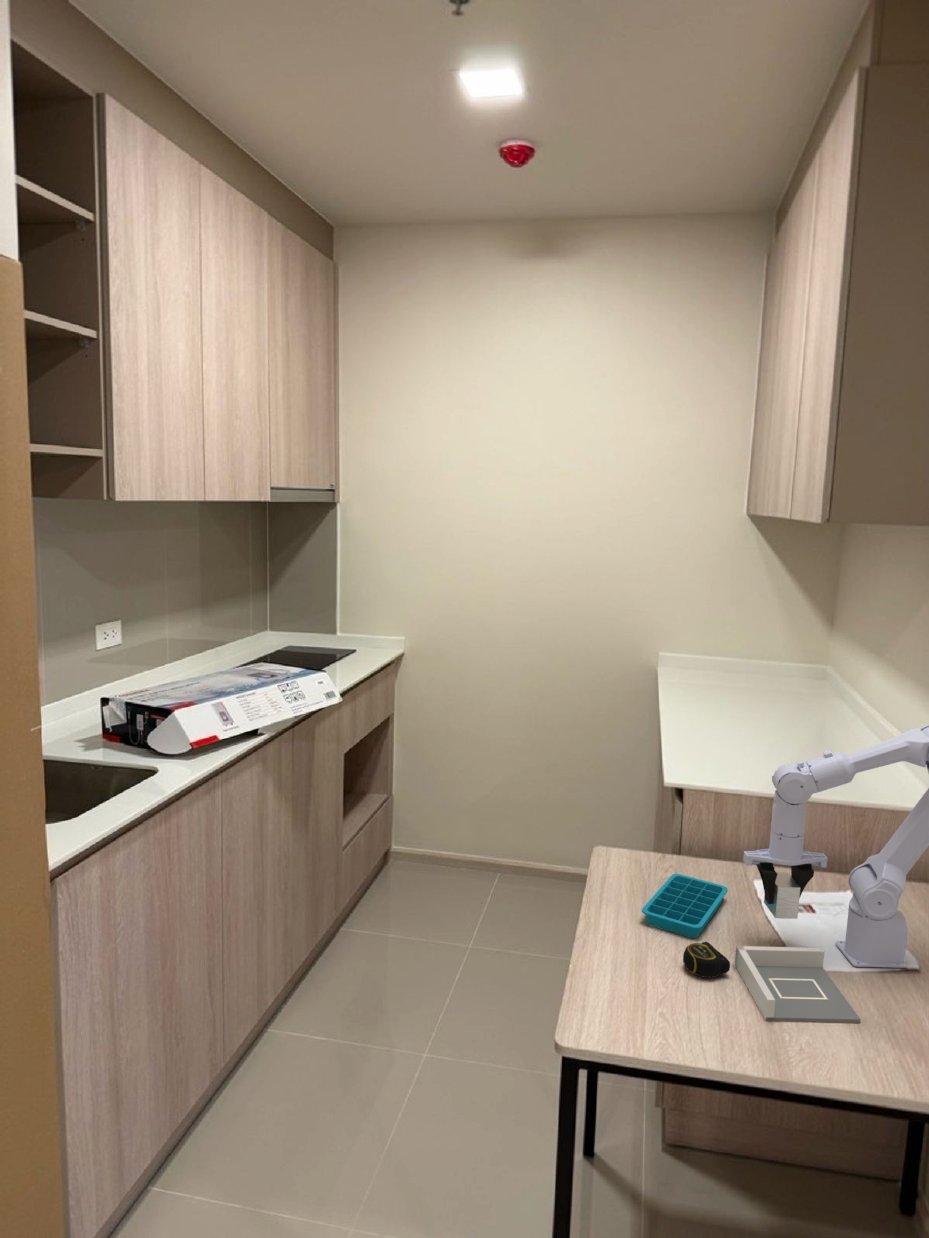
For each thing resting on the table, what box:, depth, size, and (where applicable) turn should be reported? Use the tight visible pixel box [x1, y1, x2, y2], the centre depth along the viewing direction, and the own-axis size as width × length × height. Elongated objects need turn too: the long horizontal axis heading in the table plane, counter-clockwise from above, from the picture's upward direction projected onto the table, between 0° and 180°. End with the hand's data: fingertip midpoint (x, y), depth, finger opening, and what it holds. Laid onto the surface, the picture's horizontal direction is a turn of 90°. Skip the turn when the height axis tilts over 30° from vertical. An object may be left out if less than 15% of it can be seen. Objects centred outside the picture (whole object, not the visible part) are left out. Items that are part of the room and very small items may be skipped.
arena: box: [734, 945, 862, 1024], centre depth 145 cm, size 15×16×4 cm
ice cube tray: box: [641, 873, 729, 939], centre depth 172 cm, size 12×20×3 cm, turn 148°
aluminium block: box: [763, 871, 801, 920], centre depth 159 cm, size 4×6×6 cm, turn 0°
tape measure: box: [682, 941, 731, 979], centre depth 151 cm, size 7×7×4 cm
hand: (781, 901), depth 159 cm, fingers closed on aluminium block, 4 cm apart
